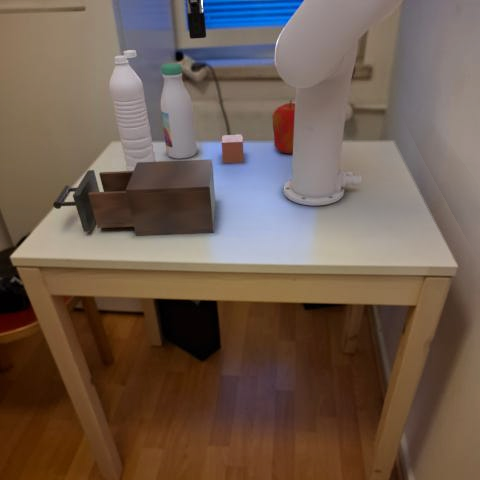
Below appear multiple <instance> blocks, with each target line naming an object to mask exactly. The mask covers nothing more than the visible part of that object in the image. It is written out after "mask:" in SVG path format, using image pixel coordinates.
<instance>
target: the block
mask: <svg viewBox="0 0 480 480" xmlns="http://www.w3.org/2000/svg"><path fill="white" fill-rule="evenodd" d="M243 137H244V135H243V134H222V135H221V155H222V164H243V163H244V138H243Z"/></svg>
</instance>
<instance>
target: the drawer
mask: <svg viewBox="0 0 480 480" xmlns="http://www.w3.org/2000/svg"><path fill="white" fill-rule="evenodd" d="M98 174H99V175H98V176H99V179H100V182H101V186H102V187H101V188H102V190H103V191H100V187H99V183H98V180H97V177H96V173H95V169H89V170H87V171H86V173H85V174H84V175H83V178H82V179H81V181H80V183H79V184H78V186H77V187H71V186H70V185H64V186H63V188H62V190H61V191H60V193H59V194H58V195H57V197H56V198H55V200H54V202H53V204H52V205H53V208H54V209H56V210H60V209H61V208H62V207H75V208H76V211H77V214H78V217H79V221H80V224H81V227H82V230H83V232H84V233H87V232H88V233H90V232H91V231H92V229H93V227H94V224H95V223H96V227H97V229H105V228H106V229H108V228H127V227H128V228H129V227H131V228H132V227H133V228H134V224H133V220H132V216H131V211H130V207H129V202H128V198H127V193H126V188H127V186H128V183H129V181H130V179H131V176H132V174H133V171H127V170H122V171H100V172H99V173H98ZM70 193H73V194H72V197H73V201H66V200H67V198H68V197H69V196H70Z"/></svg>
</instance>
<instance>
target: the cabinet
mask: <svg viewBox="0 0 480 480" xmlns="http://www.w3.org/2000/svg"><path fill="white" fill-rule="evenodd" d="M215 192H216V191H215V178H214V166H213V159H190V160H164V161H163V160H162V161H160V160H159V161H156V162H137V164H136V166H135V169H134V171H133V174H132V176H131V179H130V181H129V183H128V186H127V188H126V193H127V198H128V202H129V207H130V211H131V216H132V220H133V224H134V227H133V229H134V233H135V236H137V237H138V236H139V237H140V236H161V235H162V236H163V235H186V234H190V235H191V234H212V233H215V217H216V193H215Z"/></svg>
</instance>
